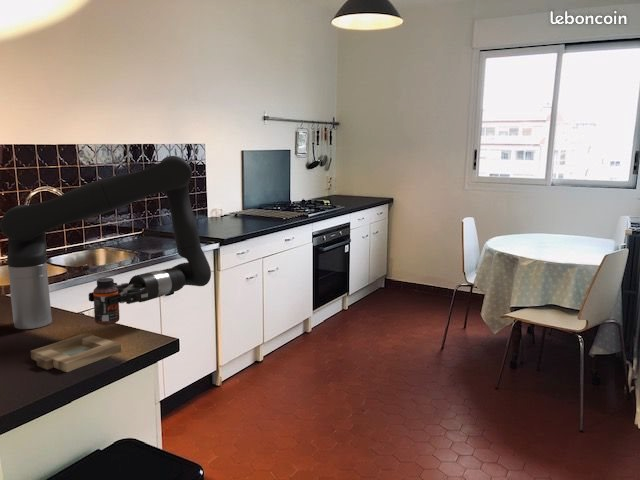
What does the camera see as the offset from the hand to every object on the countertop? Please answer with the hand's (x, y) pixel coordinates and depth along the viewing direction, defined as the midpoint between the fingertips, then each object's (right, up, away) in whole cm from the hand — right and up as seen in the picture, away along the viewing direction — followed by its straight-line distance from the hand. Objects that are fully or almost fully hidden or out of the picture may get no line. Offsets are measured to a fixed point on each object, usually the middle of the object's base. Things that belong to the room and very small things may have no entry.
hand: (97, 299), depth 132 cm
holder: (-1, -12, -8) cm, 15 cm away
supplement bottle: (+1, -6, +3) cm, 7 cm away
